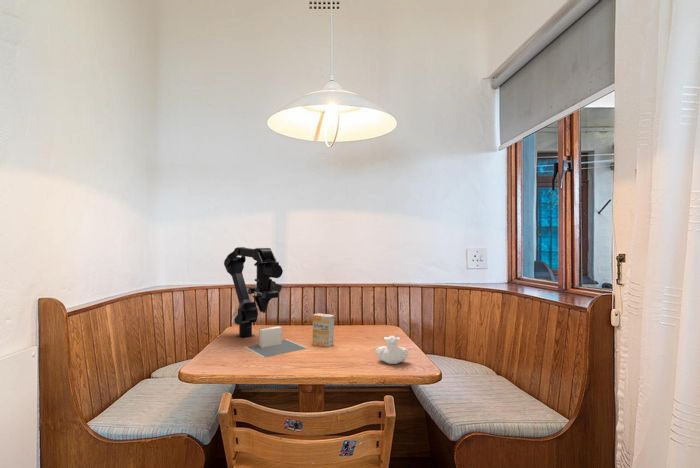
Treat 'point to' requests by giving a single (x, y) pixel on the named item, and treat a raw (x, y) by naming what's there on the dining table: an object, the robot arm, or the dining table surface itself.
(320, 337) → the supplement box
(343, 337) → the dining table surface
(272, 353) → the mat
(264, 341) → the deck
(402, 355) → the white animal figurine
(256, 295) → the robot arm
